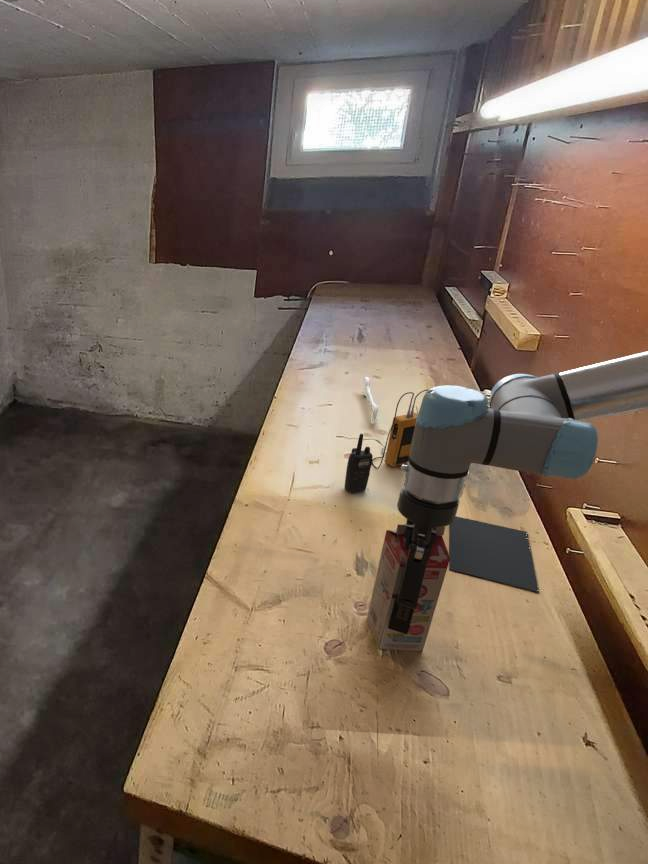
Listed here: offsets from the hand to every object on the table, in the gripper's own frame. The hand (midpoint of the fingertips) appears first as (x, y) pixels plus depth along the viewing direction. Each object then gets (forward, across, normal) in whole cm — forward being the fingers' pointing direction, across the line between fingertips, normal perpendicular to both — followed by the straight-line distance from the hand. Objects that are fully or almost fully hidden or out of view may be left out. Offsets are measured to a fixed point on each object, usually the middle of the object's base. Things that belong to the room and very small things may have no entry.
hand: (400, 609), depth 91 cm
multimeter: (+6, -65, -6) cm, 66 cm away
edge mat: (+5, -32, +15) cm, 36 cm away
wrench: (+1, -101, -14) cm, 102 cm away
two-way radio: (+6, -45, -12) cm, 47 cm away
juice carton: (+6, 0, 0) cm, 6 cm away
